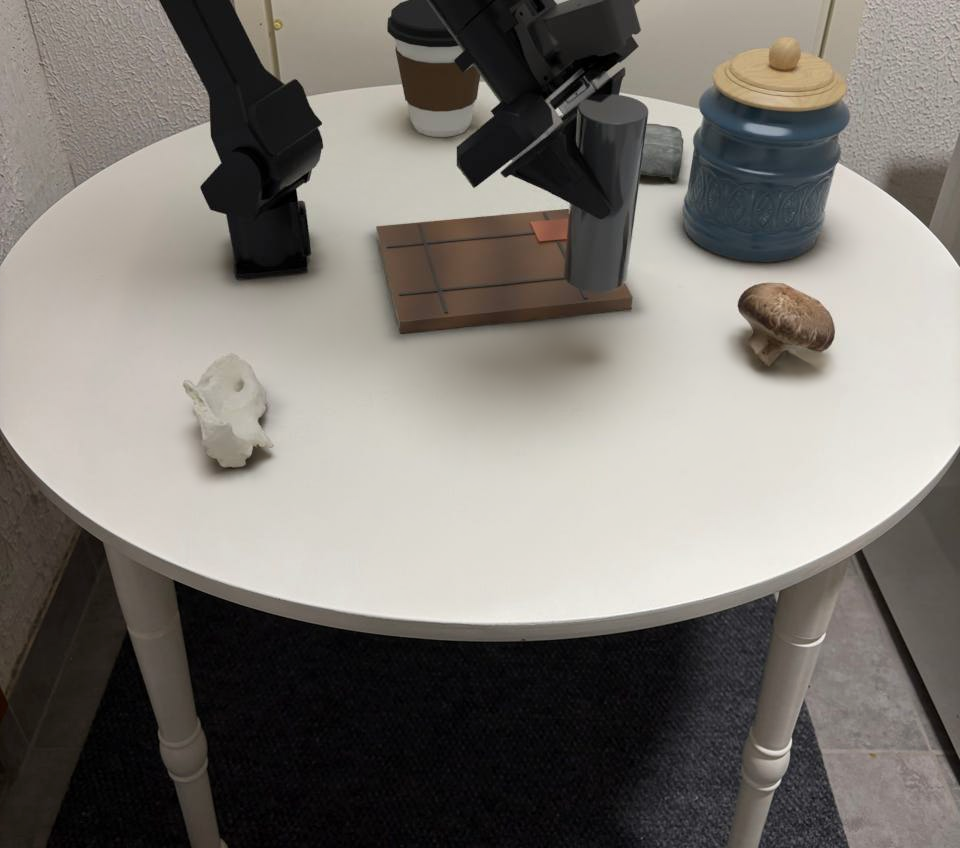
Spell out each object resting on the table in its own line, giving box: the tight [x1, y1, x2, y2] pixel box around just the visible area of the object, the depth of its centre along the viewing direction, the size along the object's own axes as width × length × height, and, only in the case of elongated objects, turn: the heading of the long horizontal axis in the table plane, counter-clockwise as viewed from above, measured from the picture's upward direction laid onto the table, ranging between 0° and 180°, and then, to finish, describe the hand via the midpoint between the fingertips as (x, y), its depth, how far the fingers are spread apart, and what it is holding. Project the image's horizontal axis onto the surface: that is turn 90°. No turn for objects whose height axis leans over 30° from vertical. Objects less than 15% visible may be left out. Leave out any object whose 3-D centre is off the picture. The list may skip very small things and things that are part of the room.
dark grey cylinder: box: [564, 94, 649, 292], centre depth 75 cm, size 5×5×13 cm
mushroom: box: [737, 282, 836, 367], centre depth 84 cm, size 8×8×6 cm
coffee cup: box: [386, 0, 481, 138], centre depth 112 cm, size 11×11×12 cm
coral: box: [182, 352, 274, 469], centre depth 76 cm, size 6×10×4 cm, turn 17°
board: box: [375, 208, 634, 334], centre depth 93 cm, size 20×16×1 cm
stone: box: [559, 114, 685, 182], centre depth 109 cm, size 11×4×15 cm
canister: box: [682, 36, 851, 263], centre depth 93 cm, size 13×13×18 cm
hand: (621, 200), depth 75 cm, fingers closed on dark grey cylinder, 5 cm apart
